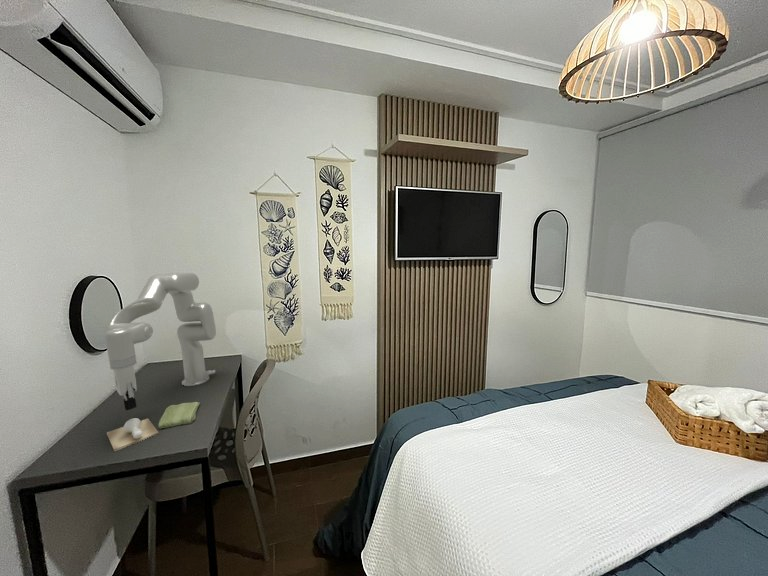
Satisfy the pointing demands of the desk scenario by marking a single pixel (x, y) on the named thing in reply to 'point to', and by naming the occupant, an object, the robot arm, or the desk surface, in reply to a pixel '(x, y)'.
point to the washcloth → (179, 414)
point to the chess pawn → (133, 427)
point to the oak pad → (130, 435)
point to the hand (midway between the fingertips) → (130, 408)
